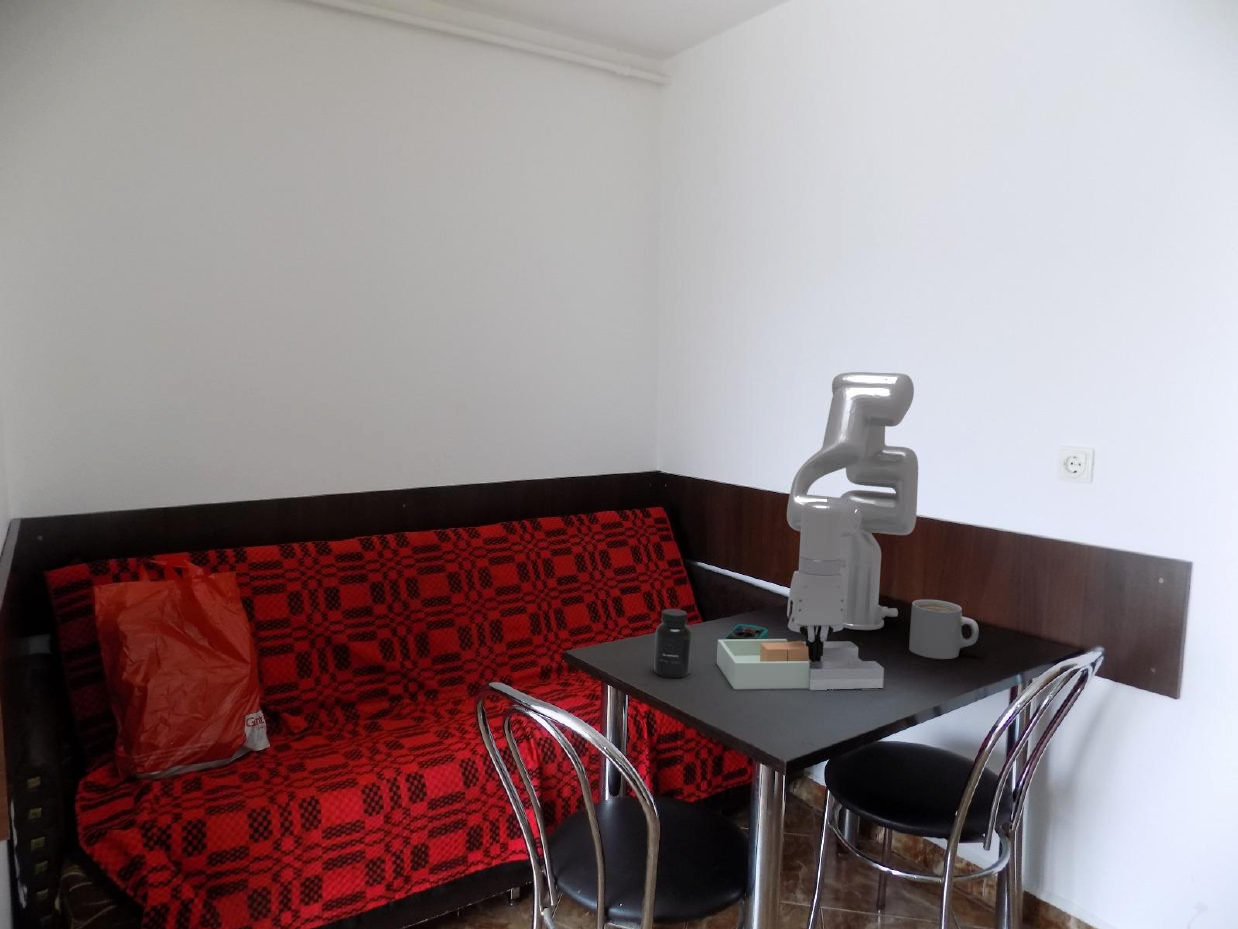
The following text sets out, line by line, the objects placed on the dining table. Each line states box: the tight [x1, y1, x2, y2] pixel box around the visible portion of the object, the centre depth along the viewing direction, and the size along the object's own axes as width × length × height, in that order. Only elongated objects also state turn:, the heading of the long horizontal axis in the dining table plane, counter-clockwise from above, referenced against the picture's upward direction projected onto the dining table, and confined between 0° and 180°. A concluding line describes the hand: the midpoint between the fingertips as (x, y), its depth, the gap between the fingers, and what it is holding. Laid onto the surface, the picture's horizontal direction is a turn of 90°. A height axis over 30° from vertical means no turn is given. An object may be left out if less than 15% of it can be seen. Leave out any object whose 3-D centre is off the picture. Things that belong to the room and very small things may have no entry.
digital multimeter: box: [721, 623, 769, 640], centre depth 181 cm, size 7×15×3 cm, turn 156°
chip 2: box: [782, 639, 809, 662], centre depth 162 cm, size 4×4×4 cm
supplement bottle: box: [653, 608, 692, 679], centre depth 161 cm, size 7×7×12 cm
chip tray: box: [716, 638, 809, 690], centre depth 161 cm, size 14×14×5 cm
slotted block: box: [802, 640, 885, 691], centre depth 163 cm, size 14×16×4 cm
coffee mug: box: [908, 599, 980, 660], centre depth 178 cm, size 13×10×10 cm
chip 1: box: [760, 643, 788, 662], centre depth 161 cm, size 4×4×4 cm
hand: (813, 659), depth 162 cm, fingers closed
